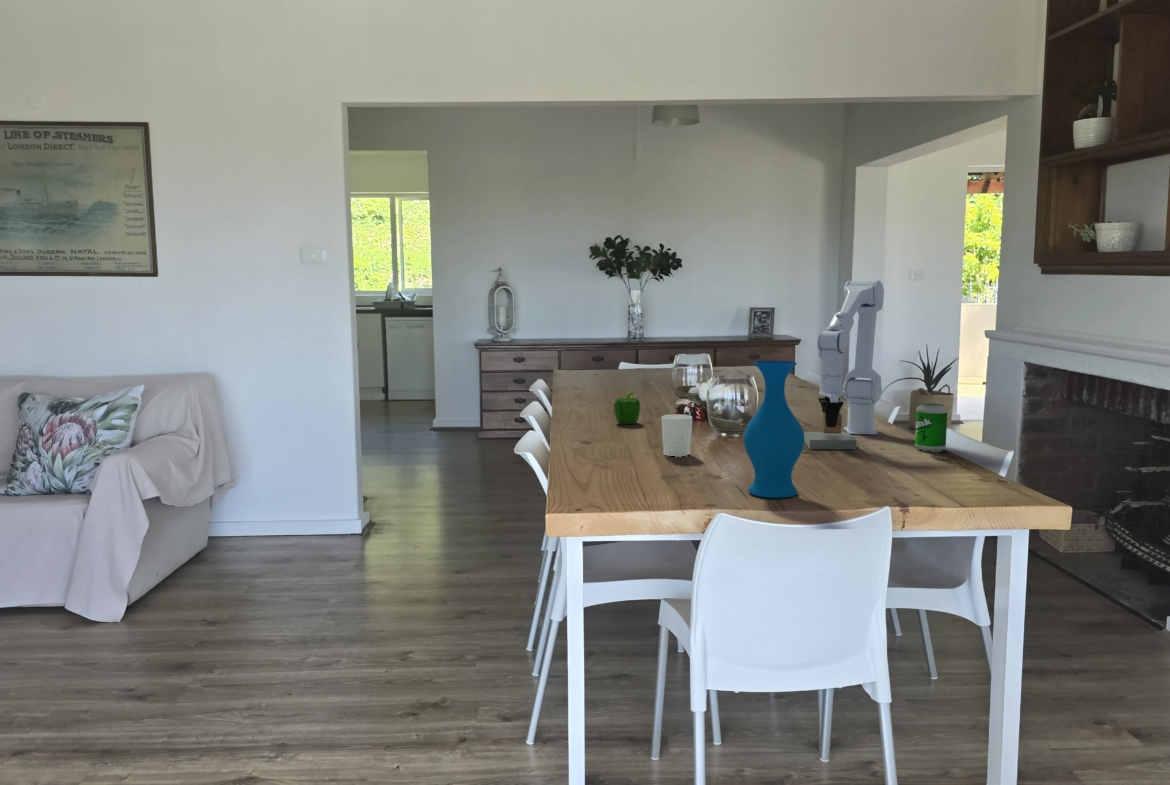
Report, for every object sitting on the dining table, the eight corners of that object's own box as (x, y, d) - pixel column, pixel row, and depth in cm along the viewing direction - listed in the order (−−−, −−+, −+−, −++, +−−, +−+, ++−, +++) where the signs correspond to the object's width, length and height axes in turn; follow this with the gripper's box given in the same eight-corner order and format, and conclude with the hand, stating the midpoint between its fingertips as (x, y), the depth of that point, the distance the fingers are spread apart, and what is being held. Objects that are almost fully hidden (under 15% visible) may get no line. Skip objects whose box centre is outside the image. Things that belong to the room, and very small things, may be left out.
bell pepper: (623, 426, 269) (623, 394, 267) (609, 422, 276) (609, 391, 274) (646, 424, 273) (646, 392, 271) (632, 420, 280) (632, 389, 278)
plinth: (803, 440, 243) (804, 431, 243) (848, 441, 242) (848, 432, 242) (809, 449, 232) (809, 439, 231) (856, 449, 230) (856, 440, 230)
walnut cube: (821, 430, 239) (822, 412, 238) (838, 430, 238) (839, 412, 237) (824, 433, 234) (824, 415, 234) (841, 433, 234) (841, 415, 233)
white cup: (688, 458, 221) (688, 419, 220) (658, 456, 224) (658, 418, 222) (694, 452, 228) (695, 415, 227) (665, 451, 231) (665, 413, 230)
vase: (736, 487, 191) (738, 360, 187) (793, 486, 191) (796, 359, 188) (750, 501, 179) (753, 366, 175) (811, 500, 180) (814, 365, 176)
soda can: (940, 447, 232) (942, 402, 231) (949, 453, 225) (951, 407, 223) (911, 447, 233) (913, 402, 231) (919, 452, 225) (921, 406, 224)
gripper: (851, 378, 227) (849, 430, 228) (842, 372, 241) (841, 420, 243) (823, 378, 228) (821, 429, 229) (816, 372, 242) (815, 420, 244)
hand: (829, 425), depth 236 cm, fingers closed on walnut cube, 4 cm apart
